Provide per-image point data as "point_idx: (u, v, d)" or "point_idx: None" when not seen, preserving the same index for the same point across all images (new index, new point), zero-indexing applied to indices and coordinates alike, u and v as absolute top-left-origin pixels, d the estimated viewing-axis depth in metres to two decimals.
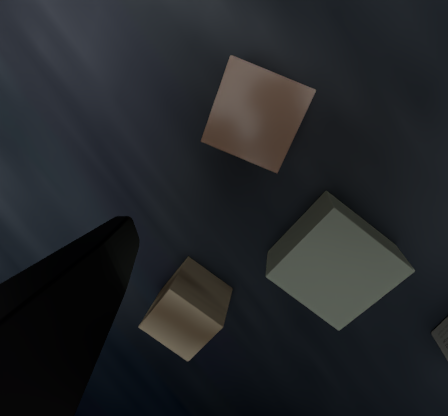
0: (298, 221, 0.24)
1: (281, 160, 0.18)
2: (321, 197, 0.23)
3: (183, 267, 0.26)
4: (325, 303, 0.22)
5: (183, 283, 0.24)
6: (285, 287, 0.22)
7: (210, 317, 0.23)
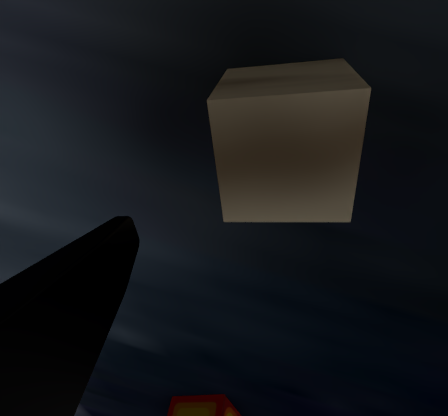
0: None
1: None
2: None
3: (224, 77, 0.12)
4: None
5: (233, 87, 0.11)
6: None
7: (329, 90, 0.09)
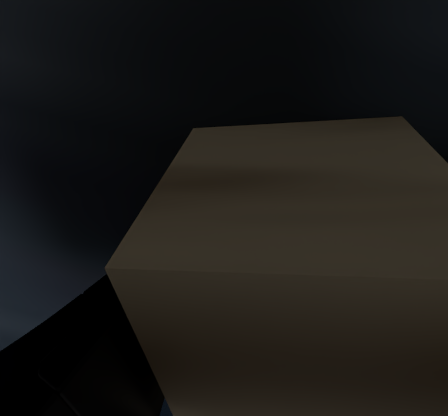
0: None
1: None
2: None
3: (178, 159, 0.06)
4: None
5: (184, 206, 0.05)
6: None
7: (431, 274, 0.03)
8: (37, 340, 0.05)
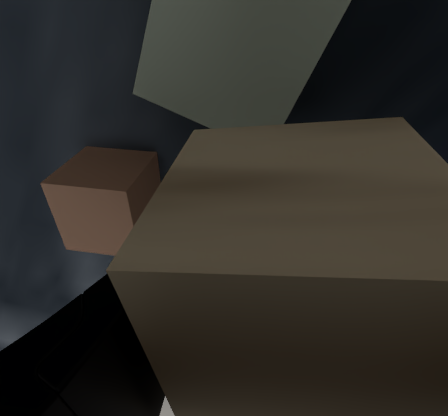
0: None
1: (112, 191, 0.16)
2: None
3: (179, 161, 0.07)
4: (293, 47, 0.12)
5: (185, 208, 0.05)
6: (278, 121, 0.14)
7: (430, 275, 0.03)
8: (37, 340, 0.05)
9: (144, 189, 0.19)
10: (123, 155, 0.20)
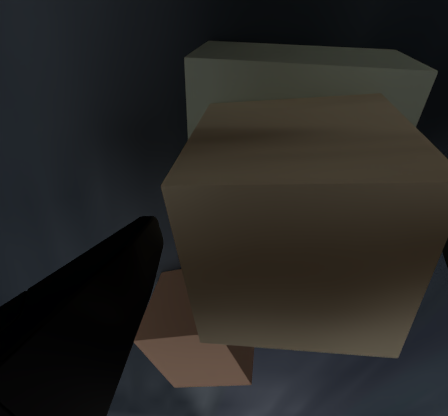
0: None
1: None
2: None
3: (201, 124, 0.08)
4: None
5: (212, 151, 0.07)
6: None
7: (387, 180, 0.05)
8: None
9: None
10: None
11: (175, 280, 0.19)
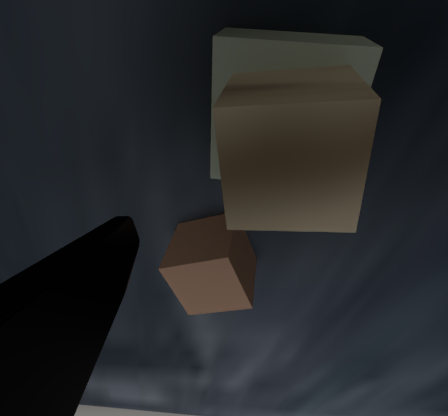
0: None
1: (216, 260, 0.19)
2: None
3: (229, 83, 0.12)
4: None
5: (239, 94, 0.11)
6: None
7: (338, 100, 0.09)
8: None
9: (238, 248, 0.21)
10: (211, 223, 0.23)
11: (190, 228, 0.23)
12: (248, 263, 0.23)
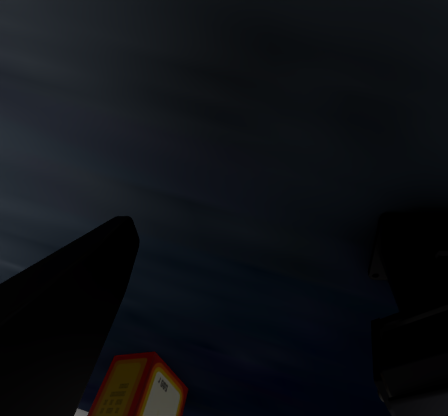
0: None
1: None
2: None
3: None
4: None
5: None
6: None
7: None
8: None
9: None
10: None
11: None
12: None
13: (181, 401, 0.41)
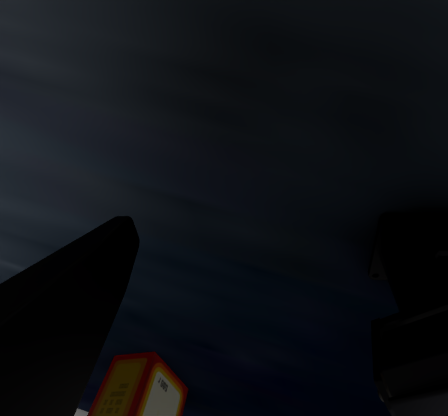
0: None
1: None
2: None
3: None
4: None
5: None
6: None
7: None
8: None
9: None
10: None
11: None
12: None
13: (181, 401, 0.41)
